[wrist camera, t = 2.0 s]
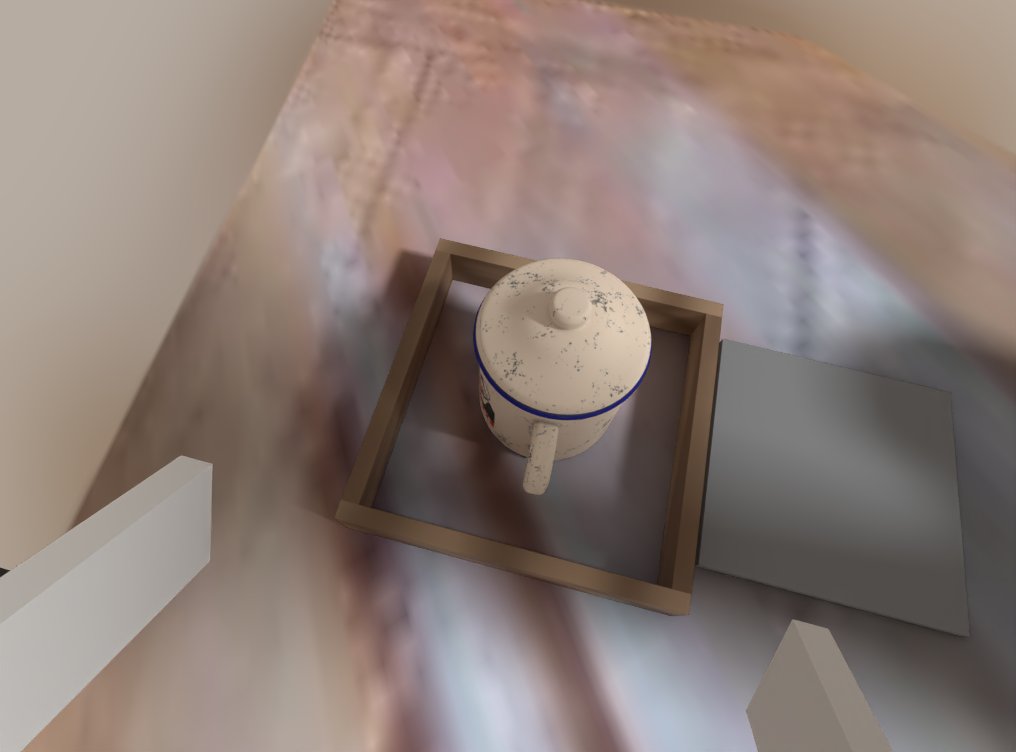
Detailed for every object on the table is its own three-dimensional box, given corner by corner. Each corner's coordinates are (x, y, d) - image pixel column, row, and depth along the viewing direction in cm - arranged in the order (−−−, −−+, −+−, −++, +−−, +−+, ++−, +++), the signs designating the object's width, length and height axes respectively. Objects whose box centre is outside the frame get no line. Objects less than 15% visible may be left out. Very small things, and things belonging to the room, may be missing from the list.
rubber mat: (943, 396, 37) (950, 392, 37) (961, 636, 31) (970, 636, 31) (719, 342, 38) (723, 338, 38) (695, 565, 32) (698, 564, 32)
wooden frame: (706, 327, 39) (723, 304, 36) (671, 616, 31) (689, 614, 28) (443, 264, 40) (440, 238, 37) (346, 527, 32) (333, 518, 30)
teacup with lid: (490, 325, 38) (492, 208, 28) (622, 348, 38) (676, 239, 27) (451, 497, 33) (436, 437, 23) (603, 526, 33) (659, 478, 22)
